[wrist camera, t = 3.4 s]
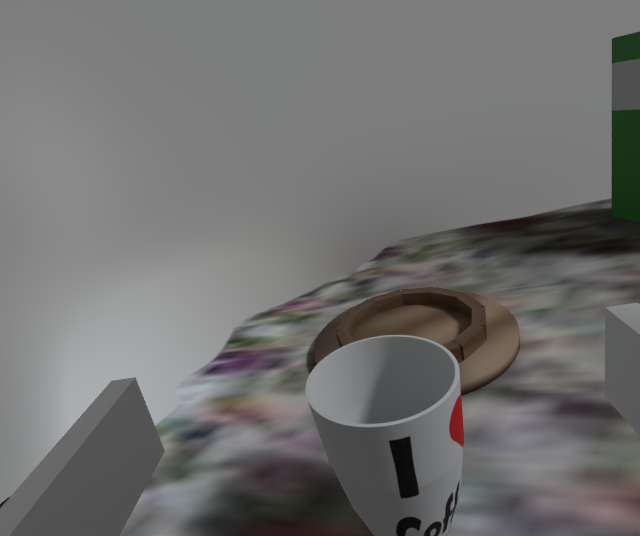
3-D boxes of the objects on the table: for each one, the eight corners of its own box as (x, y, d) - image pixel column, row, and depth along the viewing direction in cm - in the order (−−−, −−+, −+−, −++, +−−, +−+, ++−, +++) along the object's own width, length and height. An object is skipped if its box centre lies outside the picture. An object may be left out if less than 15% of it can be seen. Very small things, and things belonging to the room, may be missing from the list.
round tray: (557, 317, 43) (556, 294, 42) (437, 440, 32) (433, 411, 31) (397, 286, 58) (394, 269, 57) (278, 361, 47) (272, 341, 46)
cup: (411, 616, 21) (375, 454, 18) (316, 515, 28) (277, 383, 25) (508, 510, 25) (493, 362, 22) (405, 443, 32) (382, 322, 29)
